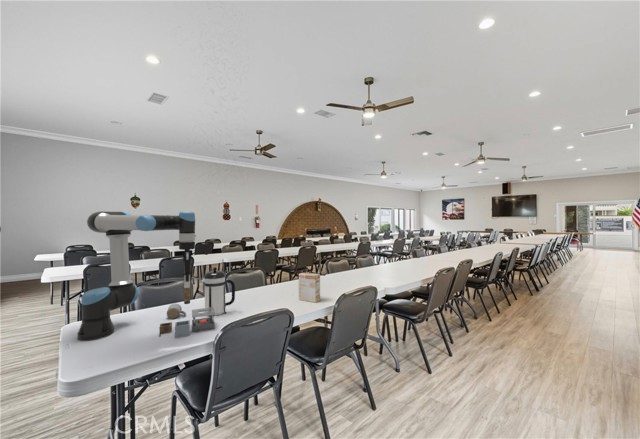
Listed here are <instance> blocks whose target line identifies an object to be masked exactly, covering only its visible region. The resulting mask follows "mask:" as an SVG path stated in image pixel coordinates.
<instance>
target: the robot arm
mask: <svg viewBox="0 0 640 439" xmlns="http://www.w3.org/2000/svg"><path fill="white" fill-rule="evenodd" d="M86 224H87V227H88V228H89V230H91V231H93V232H95V233H99V234H102V233H103V234H104V233H105V237H107V238H108V239H109V256H110V258H109V259H110V274H111V275H110V276H111V278H110V280H111V282H110V283H109V284H108V285H107V286H108V287H107V286H106V287H105V286H103V287H98V288H94V289H90V290H87V291H86V292H84V293H83V294H82V296H81V302H80V303H81V324H80V326H79V329H78V332H77V340H78V341H86V342H87V341H93V340H100V339H102V338H106V337H109V336H110V335H113V333H115V325H114V324H113V321H112V319H111V311H113V310H117V309H121V308H124V307H128V306H130V305H133V304H134V303H136V301H137V300H138V298H139V294H140V292H139V288H138V286H137V285H136V284H134V281H133V280H132V279H131V274H130V273H131V272H130V258H129V257H130V254H129V237H130V236H131V235H132V232H133V231H141V232H151V231H153V232H154V231H179V232H178V242H179V243H178V249H179V250H184V252H182V257H183V262H184V263H183V264H184V265H185V273H184V272H183V274H182V276H183V289H184V288H190V289H191V274H192V272H191V262H192V252H191V250H194V249H196V242H195V240H196V237H197V234H196V214H195V212H194V211H180V212H179V215H168V214H167V215H163V214H162V215H159V214H158V215H153V214H152V215H150V214H142V215H141V214H137V215H136V214H134V215H133V214H130V213H129V212H124V211H96V212H94V213H91V214H90V215H89V216H88V218H87V220H86Z"/></svg>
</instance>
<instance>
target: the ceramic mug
mask: <svg viewBox="0 0 640 439" xmlns="http://www.w3.org/2000/svg"><path fill="white" fill-rule="evenodd" d="M182 308H183V307H182V306H181V305H180V304H179V303H171V304H170V305H169V306H168V309H167V311H166V316H167V318H168V319H170V320H175V319H177V318H178V317H181V318H185V317H186V316H187V312H186V311H184V310H182Z"/></svg>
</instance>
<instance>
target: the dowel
mask: <svg viewBox="0 0 640 439" xmlns="http://www.w3.org/2000/svg"><path fill="white" fill-rule="evenodd" d="M184 273H185V265H184V266H183V274H184ZM183 290H184V291H183V300H184V301H183V304H184V305H189V304H191V287H190V288H184V287H183Z"/></svg>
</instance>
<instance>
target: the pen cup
mask: <svg viewBox="0 0 640 439" xmlns="http://www.w3.org/2000/svg"><path fill="white" fill-rule="evenodd" d="M190 323H191V322H190V320H183V321H176V322H175V323H174V338H181V337H187V336H188V337H189V336H190V334H191V331H190V330H191V329H190V327H191V326H190V325H191V324H190Z"/></svg>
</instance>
